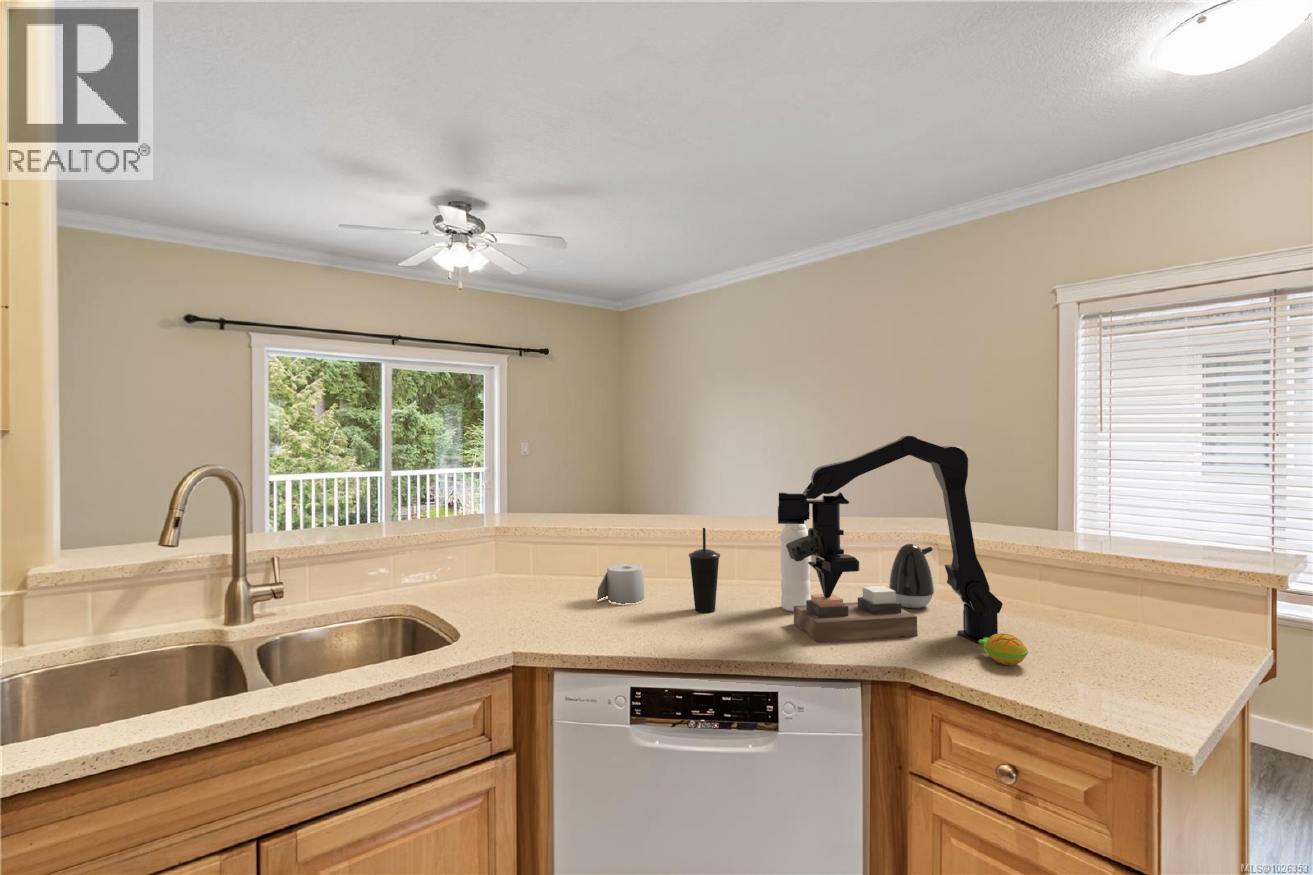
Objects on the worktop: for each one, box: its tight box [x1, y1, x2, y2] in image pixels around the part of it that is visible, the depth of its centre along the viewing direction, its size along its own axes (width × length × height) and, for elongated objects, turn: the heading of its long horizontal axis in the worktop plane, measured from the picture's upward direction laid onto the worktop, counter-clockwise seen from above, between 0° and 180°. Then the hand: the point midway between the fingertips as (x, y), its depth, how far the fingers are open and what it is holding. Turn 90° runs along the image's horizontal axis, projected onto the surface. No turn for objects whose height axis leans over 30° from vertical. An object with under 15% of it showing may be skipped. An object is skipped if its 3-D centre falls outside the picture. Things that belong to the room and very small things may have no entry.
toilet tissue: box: [596, 563, 645, 604], centre depth 161 cm, size 9×13×9 cm
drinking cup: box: [688, 527, 721, 614], centre depth 152 cm, size 8×8×20 cm
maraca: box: [977, 632, 1029, 666], centre depth 115 cm, size 7×10×5 cm
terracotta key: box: [810, 593, 844, 607], centre depth 134 cm, size 5×5×3 cm
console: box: [793, 596, 918, 643], centre depth 135 cm, size 13×22×6 cm, turn 99°
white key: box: [862, 585, 896, 604], centre depth 136 cm, size 5×5×3 cm
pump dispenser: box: [888, 543, 935, 609], centre depth 154 cm, size 10×10×15 cm
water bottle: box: [779, 523, 812, 613], centre depth 152 cm, size 7×7×25 cm
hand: (827, 596), depth 134 cm, fingers closed, pressing on terracotta key
